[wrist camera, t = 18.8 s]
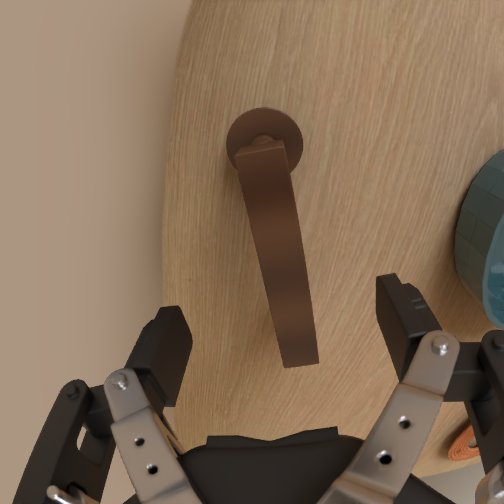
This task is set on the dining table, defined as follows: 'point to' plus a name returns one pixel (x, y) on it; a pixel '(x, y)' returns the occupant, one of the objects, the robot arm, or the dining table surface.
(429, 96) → the dining table surface
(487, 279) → the mixing bowl
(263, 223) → the brown wooden bracket
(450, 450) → the ring
